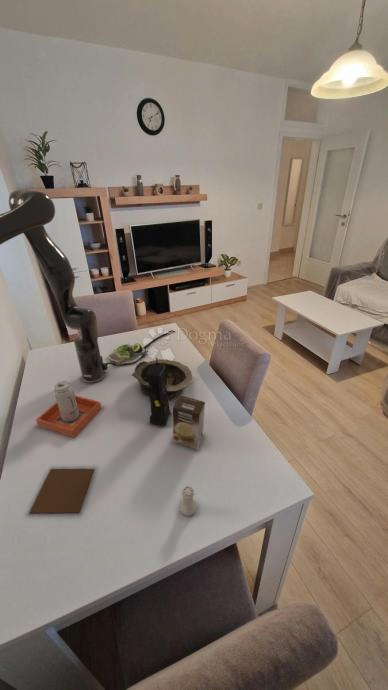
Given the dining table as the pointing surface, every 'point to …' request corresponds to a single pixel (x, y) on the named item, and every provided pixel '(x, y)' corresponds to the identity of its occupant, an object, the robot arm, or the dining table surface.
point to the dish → (51, 423)
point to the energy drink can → (66, 401)
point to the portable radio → (158, 394)
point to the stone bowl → (174, 372)
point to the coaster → (63, 491)
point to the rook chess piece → (187, 501)
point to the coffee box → (188, 422)
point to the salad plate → (127, 353)
